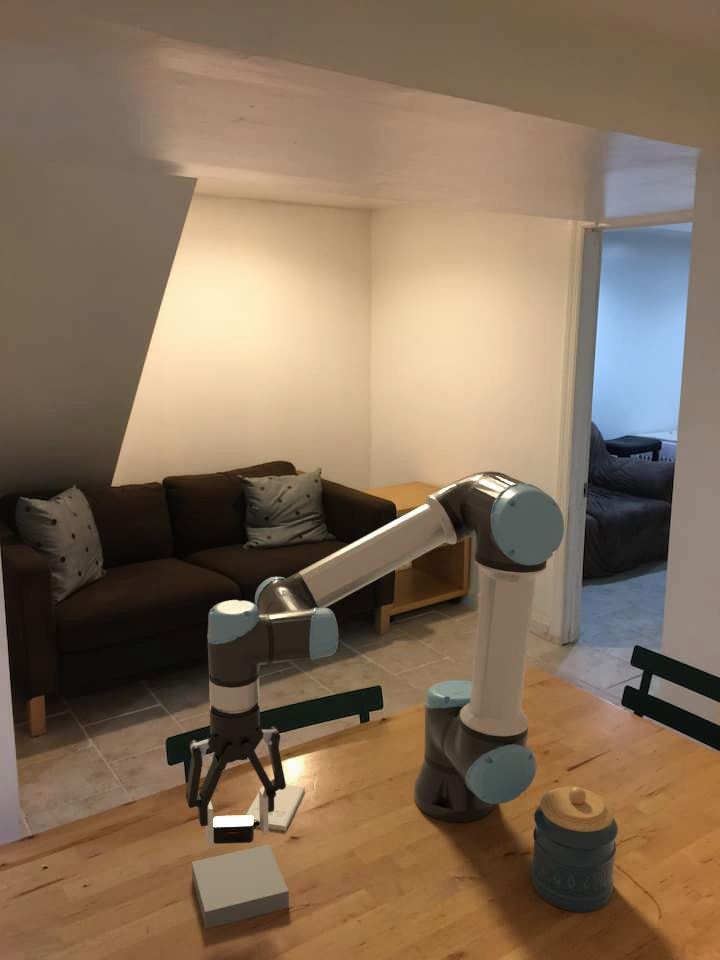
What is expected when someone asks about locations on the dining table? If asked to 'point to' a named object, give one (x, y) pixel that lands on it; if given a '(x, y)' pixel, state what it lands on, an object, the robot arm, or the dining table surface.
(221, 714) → the robot arm
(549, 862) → the canister
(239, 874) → the stand
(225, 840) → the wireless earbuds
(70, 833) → the dining table surface
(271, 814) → the external hard drive
